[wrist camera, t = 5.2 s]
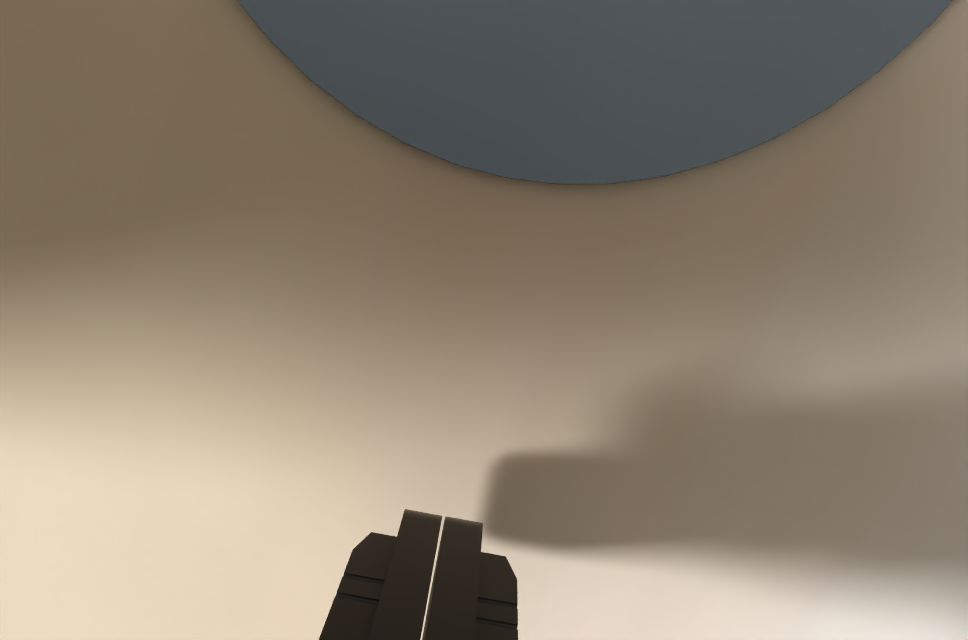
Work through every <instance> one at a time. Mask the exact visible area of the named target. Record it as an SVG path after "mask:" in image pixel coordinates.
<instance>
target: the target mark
mask: <svg viewBox="0 0 968 640" xmlns="http://www.w3.org/2000/svg"><path fill="white" fill-rule="evenodd" d="M951 1H952V0H238V2H239V3H240V4H241V5H242V6H243V8H244V9H245V10H246V11H247V13H248V14H249V15H250V16H251V18H252V19H253V20H254V21H255V22H256V24H257V25H258V26H259V27H260V29H261V30H262V31H263V32H264V33H265V35H266V36H267V37H268V38H269V40H270V41H271V42H272V43H273V44H274V45H275V46H277V47H278V48H279V49H280V50H281V51H282V52H283V53H284V54H285V55H286V56H287V57H288V58H289V59H290V60H291V61H292V62H293V63H294V64H295V65H296V66H297V67H298V68H299V69H300V70H301V71H302V72H303V73H304V74H305V75H306V76H307V77H308V78H309V79H310V80H311V81H313V82H314V83H315V84H316V85H318V86H319V87H320V88H322V89H323V90H324V91H326V92H327V93H328V94H330V95H331V96H332V97H334V98H335V99H336V100H338V101H339V102H340V103H342V104H343V105H344V106H345V107H347V108H348V109H349V110H351V111H352V112H353V113H355V114H356V115H357V116H359V117H361V118H362V119H364V120H366V121H367V122H369V123H371V124H373V125H374V126H376V127H378V128H380V129H381V130H383V131H385V132H387V133H388V134H390V135H392V136H394V137H395V138H397V139H399V140H400V141H402V142H404V143H406V144H408V145H410V146H413V147H415V148H418V149H420V150H423V151H425V152H427V153H430V154H432V155H435V156H437V157H440V158H442V159H444V160H447V161H449V162H452V163H454V164H457V165H461V166H465V167H468V168H472V169H476V170H480V171H484V172H487V173H491V174H495V175H499V176H503V177H506V178H514V179H522V180H530V181H538V182H546V183H554V184H609V183H619V182H626V181H633V180H640V179H647V178H654V177H661V176H667V175H670V174H674V173H677V172H681V171H685V170H688V169H692V168H696V167H699V166H703V165H706V164H710V163H714V162H717V161H720V160H723V159H725V158H728V157H730V156H732V155H735V154H737V153H740V152H742V151H744V150H747V149H749V148H752V147H754V146H757V145H759V144H761V143H764V142H766V141H769V140H771V139H773V138H775V137H777V136H779V135H781V134H782V133H784V132H786V131H788V130H789V129H791V128H793V127H795V126H797V125H798V124H800V123H802V122H804V121H805V120H807V119H809V118H811V117H813V116H814V115H816V114H818V113H820V112H822V111H823V110H825V109H827V108H828V107H830V106H831V105H832V104H834V103H835V102H837V101H838V100H839V99H841V98H842V97H844V96H845V95H846V94H848V93H849V92H850V91H852V90H853V89H855V88H856V87H857V86H859V85H860V84H862V83H863V82H864V81H866V80H867V79H869V78H870V77H871V76H873V75H874V74H875V73H877V72H878V71H880V70H881V69H882V68H883V67H884V66H885V65H886V64H887V63H888V62H890V61H891V60H892V59H893V58H894V57H895V56H896V55H897V54H898V53H900V52H901V51H902V50H903V49H904V48H905V47H906V46H907V45H908V44H910V43H911V42H912V41H913V40H914V39H915V38H916V37H917V36H919V35H920V34H921V33H922V32H923V31H924V30H925V29H926V28H927V27H929V26H930V25H931V24H932V22H933V21H934V20H935V19H936V18H937V17H938V16H939V15H940V14H941V12H942V11H943V10H944V9H945V8H946V7H947V6H948V5H949V4H950V3H951Z"/></svg>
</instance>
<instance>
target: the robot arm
mask: <svg viewBox="0 0 968 640" xmlns="http://www.w3.org/2000/svg"><path fill="white" fill-rule="evenodd" d="M441 520H442V516H440V515H434V514H429V513H423V512H418V511H412V510H407V509H405V511H404V514H403V518H402V521H401V525H400V528H399V532H398V536H397V537H395V536H389V535H384V534H378V533H373V532H371V533H370V534H369V535H368V536H367V537H366V538H365V539H364V540H363V541H362V542H360V543H359V544H358V545H357V546H356V547H355V548H354V549H353V551H352V553H351V556H350V558H349V561H348V564H347V566H346V569H345V572H344V576H343V577H342V580H341V582H340V585H339V588H338V590H337V594H336V597H335V598H334V601H333V604H332V606H331V609H330V612H329V614H328V617H327V619H326V622H325V625H324V627H323V630H322V633H321V635H320V638H319V640H420V638H421V632H422V627H423V621H424V615H425V610H426V604H427V598H428V593H429V587H430V582H431V576H432V570H433V565H434V559H435V553H436V548H437V542H438V537H439V531H440V525H441ZM482 527H483V525H482V523H479V522H473V521H468V520H462V519H457V518H451V517H446V516H445V521H444V526H443V531H442V536H441V541H440V547H439V552H438V557H437V562H436V567H435V572H434V577H433V583H432V588H431V593H430V599H429V604H428V610H427V615H426V621H425V627H424V633H423V638H422V640H518V630H517V625H518V611H517V578H516V576H515V574H514V572H513V570H512V568H511V566H510V564H509V562H508V560H507V558H506V557H505V556H500V555H494V554H489V553H483V552H481V542H482Z"/></svg>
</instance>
